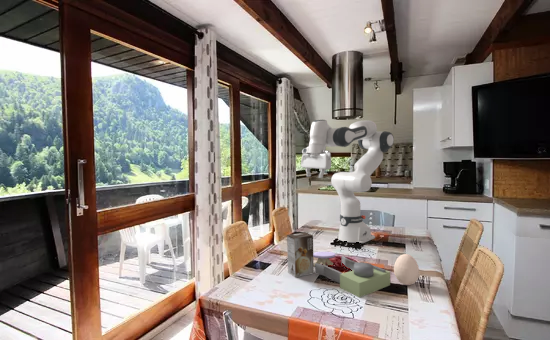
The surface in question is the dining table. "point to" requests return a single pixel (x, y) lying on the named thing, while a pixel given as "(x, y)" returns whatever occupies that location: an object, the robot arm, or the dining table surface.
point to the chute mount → (331, 272)
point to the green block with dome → (364, 279)
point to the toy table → (323, 257)
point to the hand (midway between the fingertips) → (314, 177)
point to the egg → (406, 269)
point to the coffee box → (300, 254)
